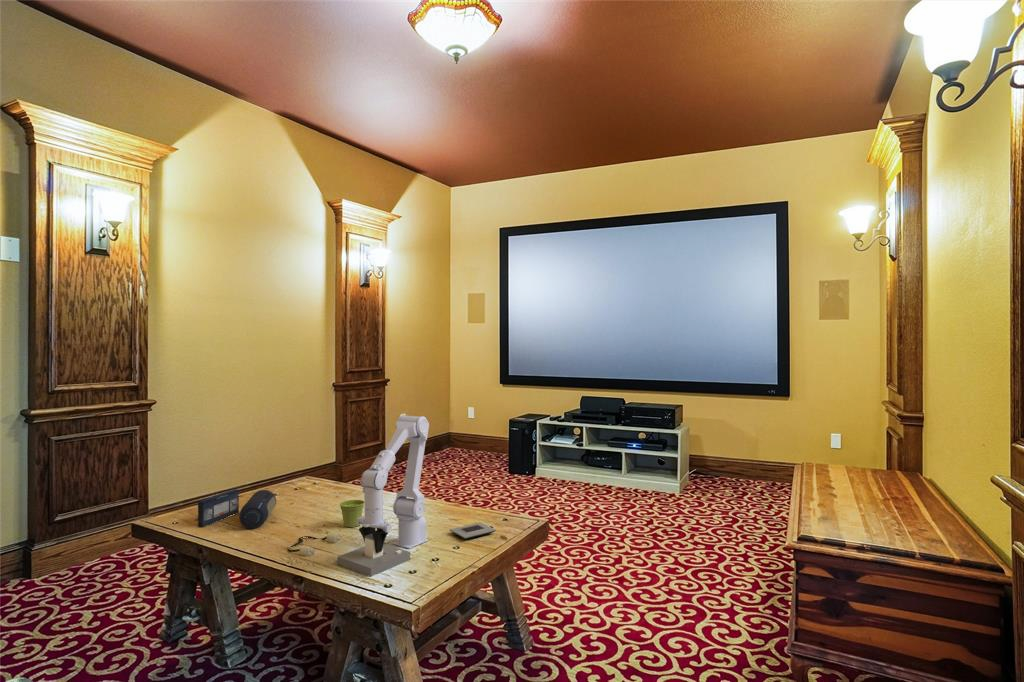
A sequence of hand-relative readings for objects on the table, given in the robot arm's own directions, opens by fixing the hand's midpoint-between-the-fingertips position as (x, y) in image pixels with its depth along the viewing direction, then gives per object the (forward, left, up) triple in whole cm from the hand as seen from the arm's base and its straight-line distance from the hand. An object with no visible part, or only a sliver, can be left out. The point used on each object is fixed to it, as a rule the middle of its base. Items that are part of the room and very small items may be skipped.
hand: (374, 550), depth 180 cm
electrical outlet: (-38, +9, -4) cm, 39 cm away
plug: (0, 0, -2) cm, 2 cm away
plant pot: (-19, -35, -4) cm, 40 cm away
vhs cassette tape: (+7, -84, -4) cm, 84 cm away
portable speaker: (-2, -70, -4) cm, 70 cm away
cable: (+4, -29, -4) cm, 30 cm away
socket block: (0, 0, -4) cm, 4 cm away
